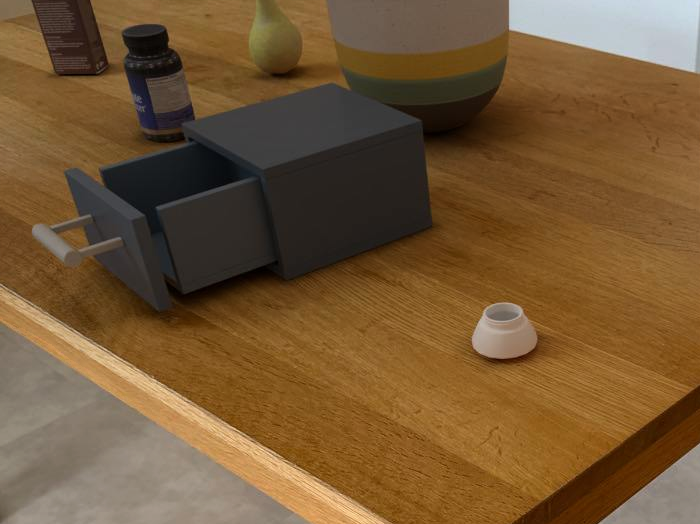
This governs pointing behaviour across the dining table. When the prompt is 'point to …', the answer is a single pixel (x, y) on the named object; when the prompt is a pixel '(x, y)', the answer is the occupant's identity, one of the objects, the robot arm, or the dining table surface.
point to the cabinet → (326, 172)
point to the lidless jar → (504, 332)
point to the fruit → (274, 39)
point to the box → (71, 36)
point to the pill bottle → (157, 82)
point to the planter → (423, 54)
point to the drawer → (168, 221)
